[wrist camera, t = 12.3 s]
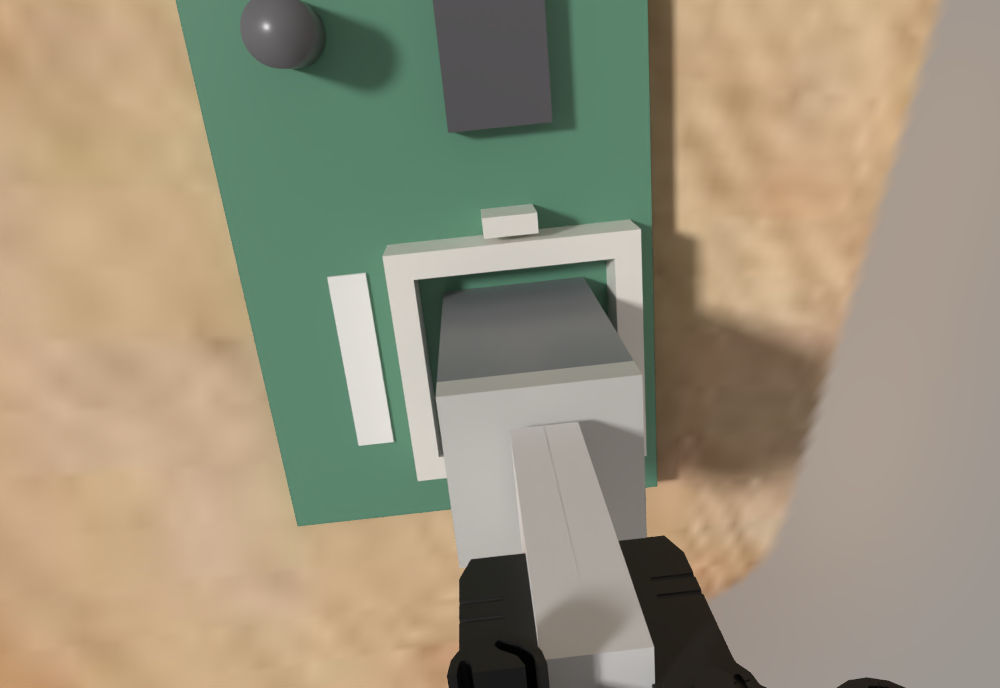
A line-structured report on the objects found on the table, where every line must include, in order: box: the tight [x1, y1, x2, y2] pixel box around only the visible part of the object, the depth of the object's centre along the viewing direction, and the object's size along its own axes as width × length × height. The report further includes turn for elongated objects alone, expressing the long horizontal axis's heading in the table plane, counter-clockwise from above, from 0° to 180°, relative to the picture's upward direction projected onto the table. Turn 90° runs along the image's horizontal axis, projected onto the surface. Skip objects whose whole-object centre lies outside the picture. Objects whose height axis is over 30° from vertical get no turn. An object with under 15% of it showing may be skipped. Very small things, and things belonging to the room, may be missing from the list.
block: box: [436, 277, 647, 568], centre depth 20 cm, size 5×4×8 cm
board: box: [176, 0, 657, 526], centre depth 22 cm, size 20×13×3 cm, turn 5°
